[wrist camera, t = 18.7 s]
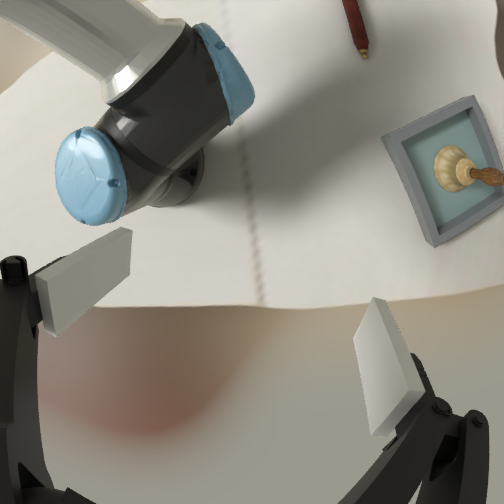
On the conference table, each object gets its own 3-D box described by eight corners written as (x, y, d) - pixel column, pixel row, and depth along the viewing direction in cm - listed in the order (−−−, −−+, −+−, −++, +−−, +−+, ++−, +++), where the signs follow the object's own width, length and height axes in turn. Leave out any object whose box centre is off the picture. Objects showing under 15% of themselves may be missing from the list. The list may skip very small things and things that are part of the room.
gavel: (396, 57, 33) (338, 56, 35) (388, 62, 37) (334, 63, 39) (365, -40, 25) (309, -41, 27) (360, -29, 29) (309, -29, 31)
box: (380, 137, 41) (387, 136, 37) (463, 97, 35) (473, 95, 31) (425, 240, 45) (434, 248, 42) (499, 195, 39) (510, 199, 35)
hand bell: (430, 187, 41) (480, 206, 26) (435, 140, 38) (488, 140, 23) (466, 196, 40) (519, 218, 25) (472, 151, 37) (527, 158, 22)
